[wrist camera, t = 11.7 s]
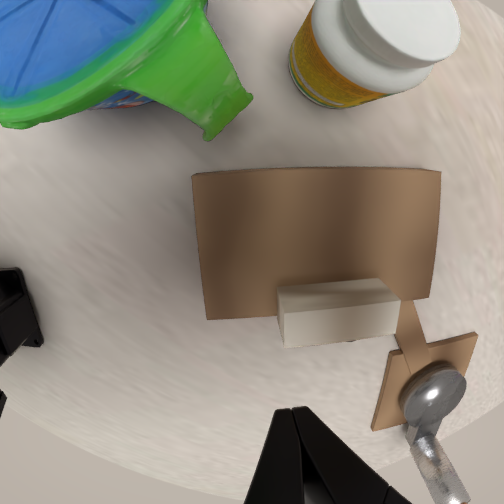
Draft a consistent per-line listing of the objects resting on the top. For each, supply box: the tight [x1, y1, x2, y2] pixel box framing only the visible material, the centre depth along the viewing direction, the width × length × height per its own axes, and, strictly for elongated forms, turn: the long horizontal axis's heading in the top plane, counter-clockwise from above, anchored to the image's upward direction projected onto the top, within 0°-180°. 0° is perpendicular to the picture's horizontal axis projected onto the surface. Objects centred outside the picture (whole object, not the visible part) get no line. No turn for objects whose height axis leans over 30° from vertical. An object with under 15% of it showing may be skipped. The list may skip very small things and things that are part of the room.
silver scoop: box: [400, 363, 470, 504], centre depth 17 cm, size 10×6×11 cm, turn 7°
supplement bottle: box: [289, 0, 461, 108], centre depth 11 cm, size 5×5×10 cm
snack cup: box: [0, 0, 253, 141], centre depth 10 cm, size 16×10×10 cm
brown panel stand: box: [192, 167, 478, 431], centre depth 18 cm, size 22×22×5 cm
